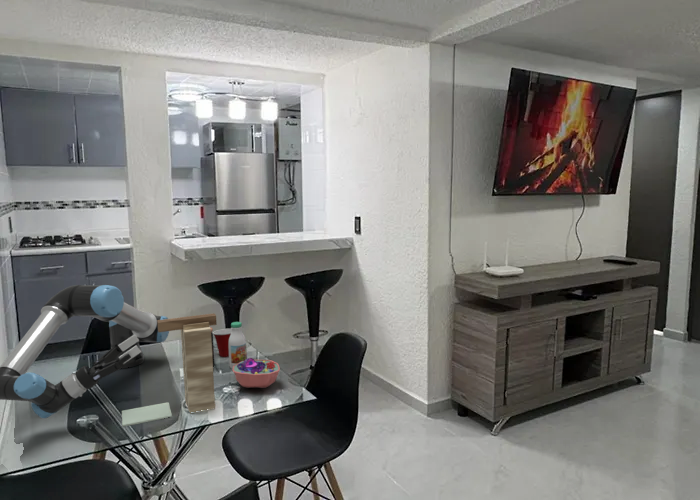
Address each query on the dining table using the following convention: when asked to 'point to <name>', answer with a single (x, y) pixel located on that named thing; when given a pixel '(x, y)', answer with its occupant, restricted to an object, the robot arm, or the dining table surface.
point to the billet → (184, 322)
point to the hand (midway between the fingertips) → (137, 342)
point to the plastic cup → (223, 341)
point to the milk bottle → (237, 345)
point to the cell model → (256, 373)
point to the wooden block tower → (198, 366)
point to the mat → (146, 414)
